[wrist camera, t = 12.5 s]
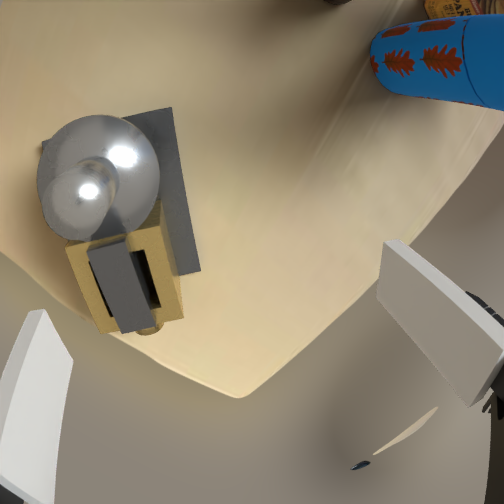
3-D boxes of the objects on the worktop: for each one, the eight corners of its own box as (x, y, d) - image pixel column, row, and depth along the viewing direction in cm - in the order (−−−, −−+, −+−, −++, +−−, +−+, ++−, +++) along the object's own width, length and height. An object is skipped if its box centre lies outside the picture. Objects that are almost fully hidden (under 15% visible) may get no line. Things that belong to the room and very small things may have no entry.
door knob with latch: (44, 132, 30) (-34, 159, 15) (170, 98, 33) (170, 92, 18) (98, 308, 42) (80, 403, 27) (204, 287, 45) (227, 380, 30)
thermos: (377, 99, 38) (533, 127, 17) (360, 28, 33) (516, 5, 12) (429, 92, 39) (568, 119, 18) (416, 28, 34) (556, 24, 13)
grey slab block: (103, 217, 35) (86, 252, 27) (134, 208, 36) (125, 241, 27) (128, 287, 40) (122, 334, 31) (156, 280, 40) (156, 326, 32)
